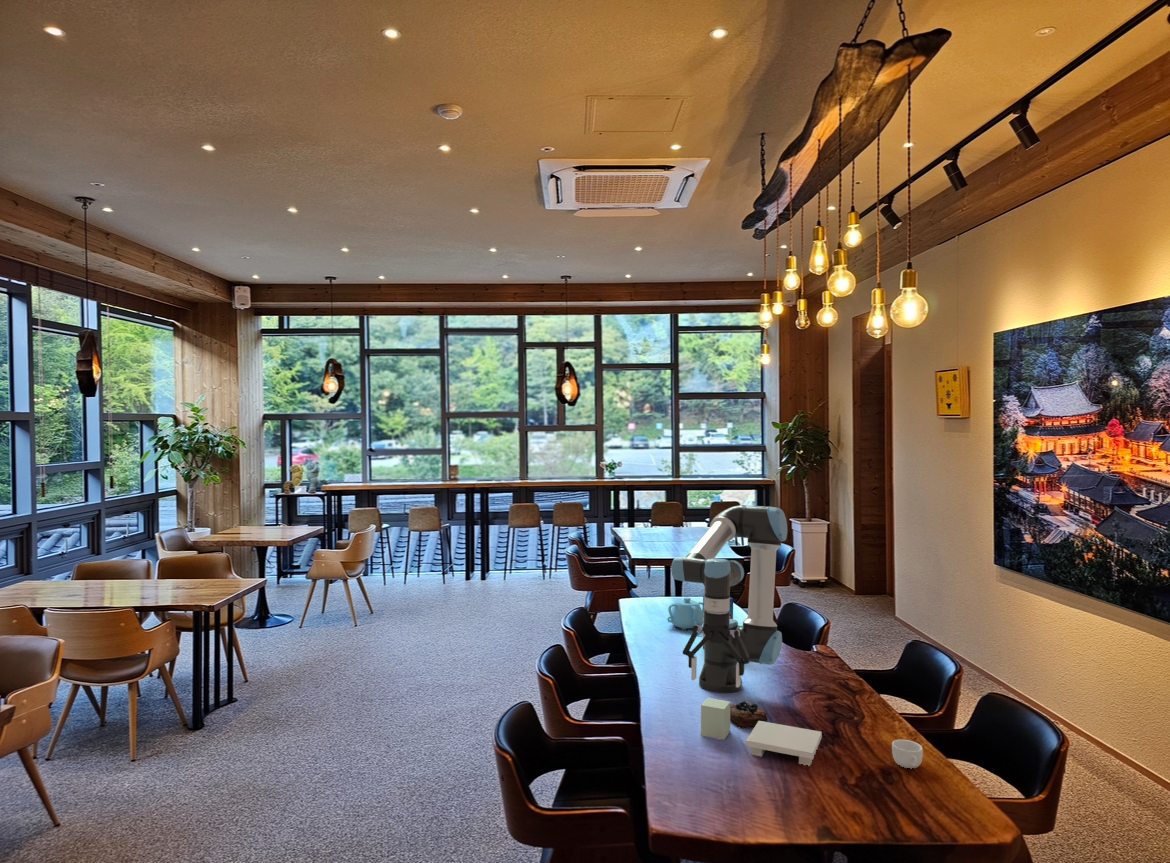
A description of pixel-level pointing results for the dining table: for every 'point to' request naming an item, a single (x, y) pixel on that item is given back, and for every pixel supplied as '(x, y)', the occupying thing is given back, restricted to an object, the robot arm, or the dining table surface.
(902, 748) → the teacup
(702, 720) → the sage block
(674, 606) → the decorative pot
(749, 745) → the serving stand
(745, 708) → the pastry
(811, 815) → the dining table surface
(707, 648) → the robot arm
